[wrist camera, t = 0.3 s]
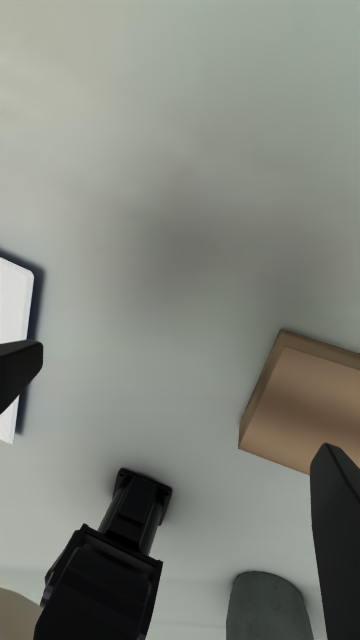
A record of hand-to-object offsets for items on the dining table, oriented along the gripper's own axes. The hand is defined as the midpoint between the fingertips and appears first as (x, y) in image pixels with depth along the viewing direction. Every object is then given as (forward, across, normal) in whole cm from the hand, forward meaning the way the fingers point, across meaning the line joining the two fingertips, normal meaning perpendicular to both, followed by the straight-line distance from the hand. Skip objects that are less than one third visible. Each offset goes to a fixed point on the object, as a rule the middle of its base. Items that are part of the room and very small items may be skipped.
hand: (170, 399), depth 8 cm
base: (+14, -10, +7) cm, 19 cm away
